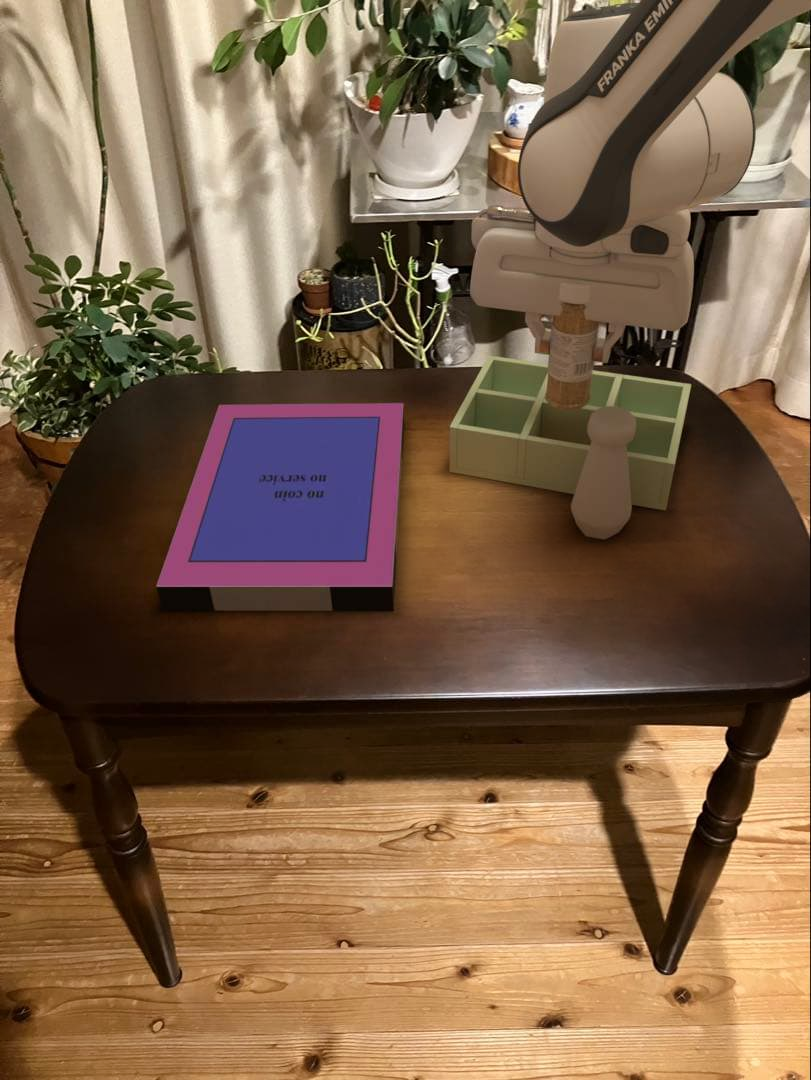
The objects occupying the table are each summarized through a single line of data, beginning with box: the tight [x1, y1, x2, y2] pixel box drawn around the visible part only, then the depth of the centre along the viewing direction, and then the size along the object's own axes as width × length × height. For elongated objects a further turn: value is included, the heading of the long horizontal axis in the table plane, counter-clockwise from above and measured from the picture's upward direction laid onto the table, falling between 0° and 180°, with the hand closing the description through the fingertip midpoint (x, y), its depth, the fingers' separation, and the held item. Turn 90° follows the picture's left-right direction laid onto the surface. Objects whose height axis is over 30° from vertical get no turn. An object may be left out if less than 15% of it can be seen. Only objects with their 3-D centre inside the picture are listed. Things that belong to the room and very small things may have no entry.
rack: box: [449, 355, 692, 511], centre depth 98 cm, size 23×15×6 cm
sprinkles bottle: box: [545, 282, 599, 410], centre depth 88 cm, size 5×5×14 cm
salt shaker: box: [570, 406, 636, 540], centre depth 86 cm, size 6×6×13 cm
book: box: [156, 402, 405, 612], centre depth 93 cm, size 21×3×30 cm
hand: (572, 355), depth 89 cm, fingers closed on sprinkles bottle, 4 cm apart
